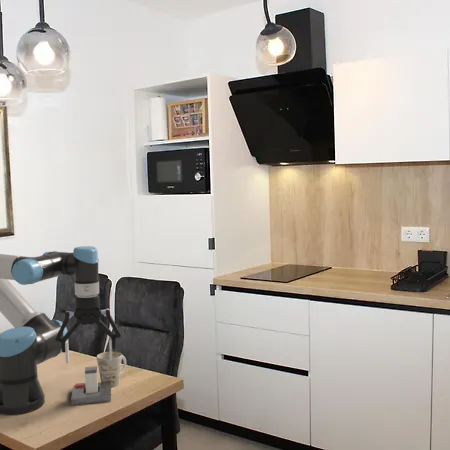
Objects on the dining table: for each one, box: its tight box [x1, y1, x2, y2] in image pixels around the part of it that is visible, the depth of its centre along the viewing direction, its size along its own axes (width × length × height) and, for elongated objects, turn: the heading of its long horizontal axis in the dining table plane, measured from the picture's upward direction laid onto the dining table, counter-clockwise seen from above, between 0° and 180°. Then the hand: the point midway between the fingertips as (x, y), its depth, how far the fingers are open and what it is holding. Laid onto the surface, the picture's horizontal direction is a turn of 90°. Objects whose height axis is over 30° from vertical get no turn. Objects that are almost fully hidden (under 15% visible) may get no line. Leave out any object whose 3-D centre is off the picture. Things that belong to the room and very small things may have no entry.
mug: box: [96, 351, 127, 388], centre depth 199 cm, size 8×13×10 cm, turn 152°
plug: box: [84, 365, 99, 393], centre depth 186 cm, size 4×4×9 cm
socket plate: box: [70, 382, 112, 406], centre depth 187 cm, size 12×12×3 cm
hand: (89, 360), depth 186 cm, fingers open, 13 cm apart
